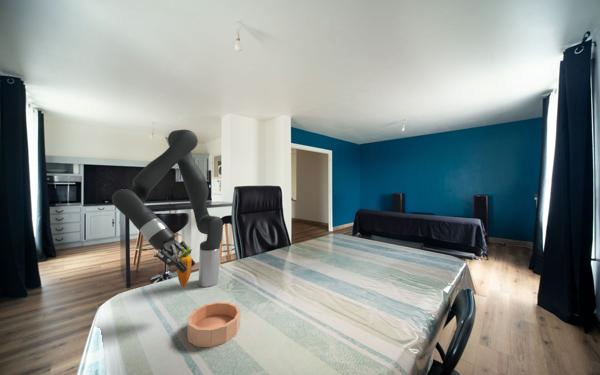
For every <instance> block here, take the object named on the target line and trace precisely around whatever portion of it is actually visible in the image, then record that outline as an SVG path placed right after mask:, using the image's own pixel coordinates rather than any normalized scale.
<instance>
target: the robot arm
mask: <svg viewBox="0 0 600 375" xmlns="http://www.w3.org/2000/svg"><path fill="white" fill-rule="evenodd" d="M198 141H199V140H198V136H197V135H196V133H195V132H194V131H192V130H190V129H177V130H176V129H175V130H173V131H171V132H170V133H169V134H168V137H167V143H168V148H167V149H166V150H165V151H164V152H163V153H161V154H160V155H159V156H157V157H156V158H155V159H153V160H152V161H150V162H149V163H148V164H147V165H146V166H144V168H142V169H141V170H140V171H139V172H138V173H137V175H135V177H133V179H132V186H131V188H130V189H126V188H122V189H119V190H116V191H114V193H113V194H112V196H111V202H112V204H113V205H114V207H115V208H117V210H118V211H119V212H120V213H121V214H123V215H124V216H125V217H126V218H127V219H129V221H130V222H131V223H132V224H133V226H134V227H135V228H136V229H137V230H138V231H139V232H140V233H141V235H142V236H143V238H144V239H145V240H146V241H147V242H148V243H149V244H150V246H151V247H152V248H154V250H156V251H159V250H160V251H159V252H158V253H157V254H156V257H157V258H158V259H159V260H160V261H162V262H163V263H164V264H166V265H167V266H168V267H172V266H175V268H178V269H179V270H180V271H181V272H182V273H184V272H185V271H186V270H187V269H188V268H187V267H186V265H185V264H184V263H183V262H182V261H180V259H179V257H180V256H183V255H182V251H181V248H182V247H184V250H185V252H186V251H187V248H188V245H187V243H186V242H185V241H184V240H181V242H179V241H177V240H176V239H175V238H176V234H175V233H174V232H173V231H172V230H171V229H170V228H169V227H168V226H167V225H166V223H165V222H163V220H161V219H160V218H159V217H158V216H157V214H156V213H155V212H153V210H152V209H150V208H149V207H148V206H146V204H145V201H146V200H147V198H148V196H149V195H150V194H151V191H152V190H153V189H155V187H156V186H157V185H158V184H159V183H160V181H161V180H162V179H163V178H164V177H165V175H167V173H168V172H169V171H170V170H171V169H173V167H175V165H176V164H177V165H178V169H179V171H180V175H181V178H182V181H183V185H184V188H185V191H186V193H187V196H188V198H189V202H190V204H191V208H192V211H193V215H194V219H195V224H196V228H197V230H198V233H199V232H200V233H201V234H204V235H206V240H204V241H202V242H200V243H199V256H198V257H199V258H198V259H199V260H198V261H199V262H198V263H199V264H198V279H197V280H198V281H197V282H198V283H197V285H198V286H199V287H203V288H207V287H213V286H216V285H217V284H218V283H219V274H220V254H221V253H220V250H221V243H222V241H223V228H224V221H223V220H222V218H221V217H219V216H215V215H210V214H209V209H208V208H207V201H208V198H209V187H208V186H209V185H208V183H207V182H208V181H207V180H206V177H205V174H204V173H203V172H202V170H201V169H200V168H199V166H198V165H197V164H196V162H195V160H194V158H193V153H192V151H193V150H195V148H196V147H197V145H198ZM191 253H192V251H190V252H189V253H188V255H189V256H191ZM195 265H196V261H195V260H194V259H193V258H192V264H191V268H192V267H194V266H195Z"/></svg>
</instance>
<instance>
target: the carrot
mask: <svg viewBox="0 0 600 375" xmlns="http://www.w3.org/2000/svg"><path fill="white" fill-rule="evenodd" d="M187 247H188V248H187V251H186V250H184V247H182V248H181V251H182V255H183V256H180V257H179V259H180V261H182V262H183V263H184V264H185V265H186V267H187V268H188V269H187V270H186V271H185V272H184V273H182V272H181V271H180V270H179V269H178V268H177V267H176V268H177V269H176V270H177V272H176V273H177V279H178V282H179V284H180V286H181V287H182V288H185V287H186V286H187V284H188V282H189V280H190V276H191V272H192V267H191V264H192V259H193V258H192V256H191V255H188V253H189V252H190V251H191V252H192V251H193V249H191V246H188V245H187ZM185 251H186V252H185Z"/></svg>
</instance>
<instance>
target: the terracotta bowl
mask: <svg viewBox="0 0 600 375" xmlns="http://www.w3.org/2000/svg"><path fill="white" fill-rule="evenodd" d="M241 312H242V311H241V310H240V308H239V306H238V305H236V304H234V303H232V302H230V301H228V302H225V301H222V302H221V301H217V302H211V303H207V304H204V305H202V306H200V307H198V308H196V309H194V310H193V311H192V312H191V313H190V314H189V315H188V317H187V326H186V327H187V328H186V329H187V332H186V336H187V337H186V338H187V342H188V343H190V344H192V345H193V346H195V347H199V348H212V347H216V346H219V345H222V344H226V343H227V342H229V341H231V339H233V338H234V337H235V336H237V334H238V332H239V330H240V327H241V314H242V313H241Z"/></svg>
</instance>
